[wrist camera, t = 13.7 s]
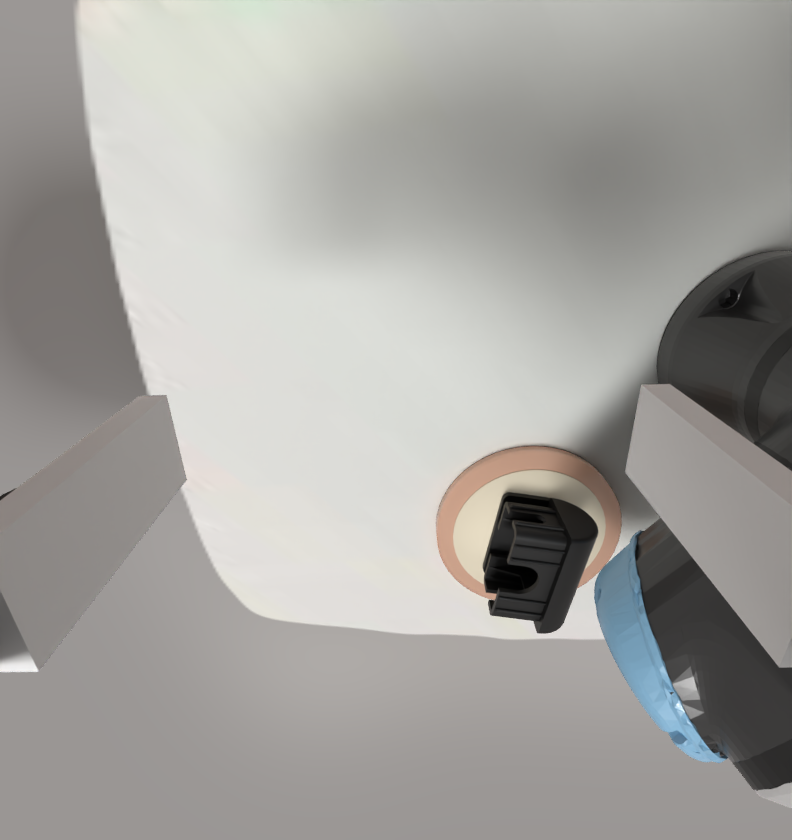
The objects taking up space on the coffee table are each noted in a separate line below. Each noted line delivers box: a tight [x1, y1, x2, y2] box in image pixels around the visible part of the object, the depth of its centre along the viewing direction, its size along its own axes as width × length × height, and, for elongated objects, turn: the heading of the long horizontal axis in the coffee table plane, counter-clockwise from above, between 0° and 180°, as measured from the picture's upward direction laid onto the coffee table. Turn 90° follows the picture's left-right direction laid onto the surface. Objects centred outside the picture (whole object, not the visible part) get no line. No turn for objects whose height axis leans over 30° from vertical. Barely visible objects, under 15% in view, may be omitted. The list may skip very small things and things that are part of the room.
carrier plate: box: [436, 446, 622, 600], centre depth 47 cm, size 17×17×2 cm
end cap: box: [483, 492, 598, 633], centre depth 43 cm, size 10×7×7 cm
